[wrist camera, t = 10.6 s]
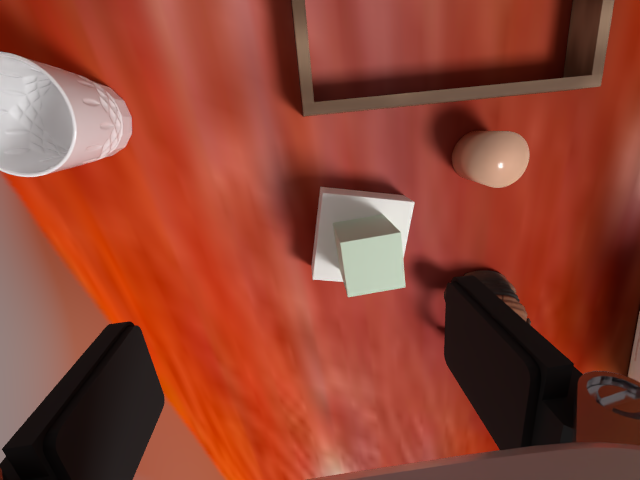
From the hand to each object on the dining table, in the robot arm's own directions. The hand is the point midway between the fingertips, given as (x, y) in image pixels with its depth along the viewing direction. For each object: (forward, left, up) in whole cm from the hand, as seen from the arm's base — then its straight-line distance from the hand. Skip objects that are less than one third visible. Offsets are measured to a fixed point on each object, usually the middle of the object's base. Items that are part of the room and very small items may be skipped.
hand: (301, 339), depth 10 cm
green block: (+5, +6, -23) cm, 24 cm away
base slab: (+5, +6, -27) cm, 28 cm away
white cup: (-8, -18, -27) cm, 33 cm away
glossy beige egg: (-1, +19, -27) cm, 33 cm away
